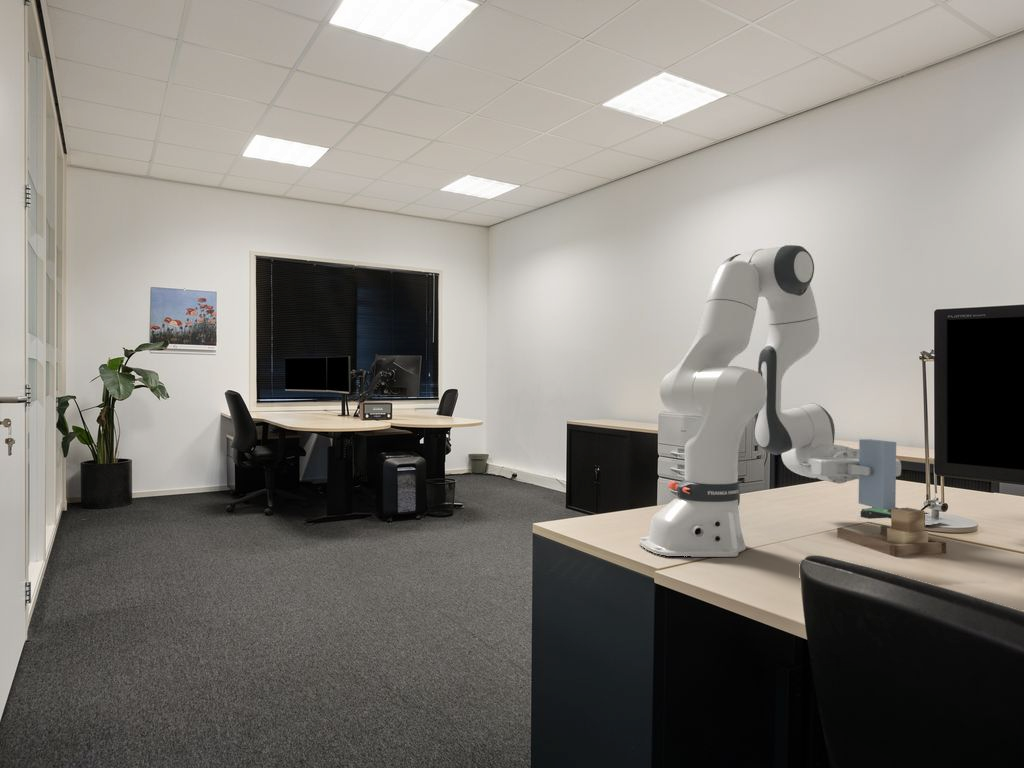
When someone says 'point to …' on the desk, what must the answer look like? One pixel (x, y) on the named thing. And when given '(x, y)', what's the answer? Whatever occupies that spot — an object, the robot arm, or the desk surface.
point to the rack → (883, 546)
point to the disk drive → (876, 513)
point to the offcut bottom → (906, 537)
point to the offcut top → (908, 520)
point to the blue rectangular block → (878, 473)
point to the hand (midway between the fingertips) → (880, 471)
